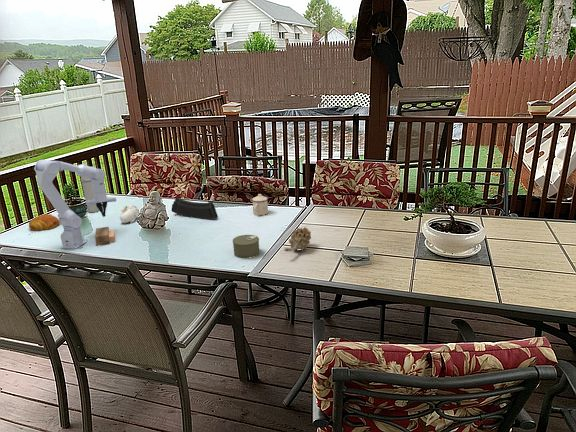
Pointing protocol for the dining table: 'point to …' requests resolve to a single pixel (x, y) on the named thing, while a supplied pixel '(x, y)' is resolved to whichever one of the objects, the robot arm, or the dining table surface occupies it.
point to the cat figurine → (129, 214)
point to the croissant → (43, 222)
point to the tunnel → (102, 236)
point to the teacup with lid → (260, 205)
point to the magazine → (194, 209)
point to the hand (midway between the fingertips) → (104, 216)
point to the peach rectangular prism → (111, 236)
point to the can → (246, 246)
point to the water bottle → (89, 193)
